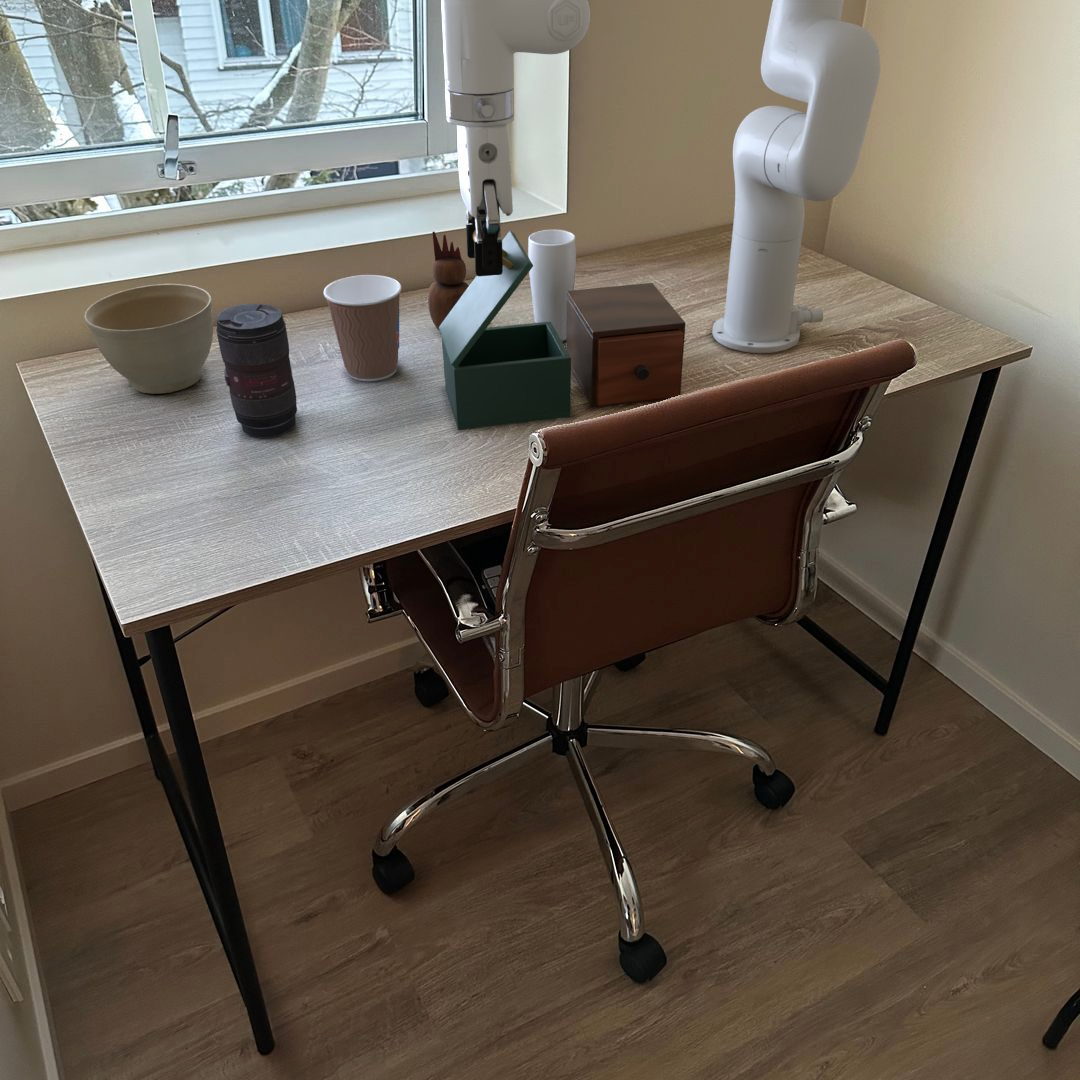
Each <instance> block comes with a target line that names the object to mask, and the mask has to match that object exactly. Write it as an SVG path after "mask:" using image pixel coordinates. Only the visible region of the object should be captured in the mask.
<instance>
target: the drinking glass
mask: <svg viewBox="0 0 1080 1080" xmlns="http://www.w3.org/2000/svg"><path fill="white" fill-rule="evenodd" d="M527 239H528V240H527V241H528V243H527V256H528V257H529V259H530V261H531V262H532V264H533V267H532V269H531V270H530V271H529V272H528V276H529V285H530V293H531V302H532V313H533V323H540V322H551V323H552V325H553V327H554V329H555V330H556V332H557V334H558V336H559V337H560V339H561V341H562V342H565V341H567V291H571V290H575V282H576V281H575V279H576V271H577V270H576V269H577V242H576V241H577V238H576V235H575V234H574V233H572V232H570V231H568V230H563V229H543V230H539V231H535V232H533V233H531V234H530V235H529V236H528V238H527Z"/></svg>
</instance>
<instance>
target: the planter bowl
mask: <svg viewBox="0 0 1080 1080" xmlns="http://www.w3.org/2000/svg"><path fill="white" fill-rule="evenodd" d="M212 309H213V300H212V295H210V293H209V292H208V291H207V290H205V289H204V288H201V287H198V286H194V285H190V284H183V283H182V284H181V283H157V284H149V285H141V286H137V287H133V288H128V289H125V290H121V291H118V292H114V293H112V294H109V295H107V296H105V297H102V298H100V299H98V300H97V301H95V302H93V303H92V304H90V305H89V307H87V308H86V310H85V312H84V320H85V323H86V325H87V327H88V328H89V330H90V333H91V336H92V338H93V340H94V343H95V346H96V347H97V349H98V351H99V352H100V353H101V355H102V356H103V358H104V359H105V360H106V362H108V364H109V365H110V366H111V367H112V368H113V369H114V370H115V371H116V372H117V373H118V374H120V376H122V377H123V378H125V379H126V380H128V382H129V384H130V386H131V387H132V388H133V390H135V391H137V392H140V393H143V394H151V395H154V394H155V395H156V394H167V393H169V394H171V393H173V392H177V391H181V390H184V389H187V388H189V387H191V386H192V385H195V384H196V383H197V382H198V381H199V380H200V379H201V378H202V377H203V366H204V364H205V363H206V361H207V359H208V357H209V355H210V354H209V353H210V351H211V348H212V344H213V338H214V316H213V311H212Z"/></svg>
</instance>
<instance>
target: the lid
mask: <svg viewBox="0 0 1080 1080" xmlns="http://www.w3.org/2000/svg"><path fill="white" fill-rule="evenodd" d="M473 240H474V242H476V241H477V237H476V230H475V231H474V233H473ZM502 258H503V273H502V274H501V275H492V276H477V275H475V277H474V279H473V280H472V281H471V283H470V284H468V285H469V287H468V288H467V290H466V291H465V292H464V294H463V295H462V296H461V298H460V299H459V300H458V302H457V303H456V304H455V306H454V307H453V309H452V310H451V311H450V313H449V314H448V315H447V317H446V318H445V319H444V321H443V322H442V324H441V325H440V326H439V330H440V331H439V330H438V331H439V334H440V335H441V340H442V339H443V342H444V345H445V348H446V351H447V354H448V357H449V360H450V363H451V365H452V366H454V367H455V368H457V366H458V365H459V364H460V362H461V361H462V360H463V358H464V357H465V356H466V355H467V353H468V352H469V351H470V349H471V348H472V347H473V345H474V344H475V343H476V341H477V340H478V339H479V337H480V336H481V335H482V333H483V332H484V331H485V329H486V328H489V325H491V323H492V321H494V320H495V318H496V316H497V315H498V314H499V312H500V311H501V309H502V308H503V307H504V306H505V305H506V303H507V302H508V300H509V299H510V298H511V297H512V295H513V294H514V292H515V291H516V290H517V288H518V287H519V286H520V284H521V283H522V282H523V281H524V280H525V278H526V277H527V275H529V271H530V270H531V269H532V267H533V264H532V262H531V261H530V259H529V257H528V253H526V250H525V249H524V248H523V246H522V244H521V242H520V241H519V238H518V237H517V235H516V233H514V232H513V231H512V230H509V231H508V232H507V234H506V235H505V237H504V238H503V239H502Z"/></svg>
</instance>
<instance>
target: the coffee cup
mask: <svg viewBox="0 0 1080 1080" xmlns="http://www.w3.org/2000/svg"><path fill="white" fill-rule="evenodd" d="M401 292H402V284H401V283H400V282H399V281H398V280H396V279H395V278H393V277H389V276H385V275H378V274H360V275H359V274H358V275H351V276H347V277H342V278H340V279H336V280H334V281H332V282H330V283H329V284H327V285H326V286H325V287H324V289H323V296H324V297H325V299H326V301H327V306H328V309H329V313H330V317H331V320H332V324H333V328H334V332H335V335H336V336H335V337H336V339H337V343H338V346H339V350H340V355H341V358H342V361H343V366H344V368H345V369H346V372H347V375H348V376H349V377H350V378H352V379H353V380H356V381H360V382H377V381H383V380H386V379H387V378H390V377H392V376H394V374H395V373H396V372H397V370H398V363H399V349H400V293H401Z"/></svg>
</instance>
